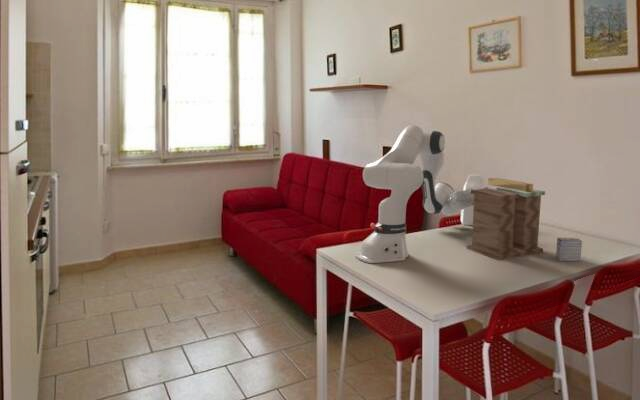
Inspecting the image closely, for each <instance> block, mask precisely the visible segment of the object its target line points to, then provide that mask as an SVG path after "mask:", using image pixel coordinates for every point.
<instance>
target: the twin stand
mask: <svg viewBox="0 0 640 400" xmlns="http://www.w3.org/2000/svg"><path fill="white" fill-rule="evenodd" d="M471 194H474V210H473V225H472V235H471V239H472V240H471V244H467V245H466V249H467V250H470V251H471V252H472V251H473V252H475V253H477V254H480V255H483V256H485V257H488V258H490V259H494V260H496V261H497V260H502V259H503V260H504V259H509V258H515V257H522V256H526V255H527V256H528V255H532V254H540V253H544V252H543V251H544V248H543V247H538V246H539V244H538V243H539V233H540V232H539V231H540V215H541V203H542V201H541V200H542V196H545V195H546V191H545V190H539V189H534V188H533V191H526V192H525V191H520V190H514V189H509V188H504V187H498V186H497V187H496V189H495V188H491V187H489V188H488V189H477V190H471Z"/></svg>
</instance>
